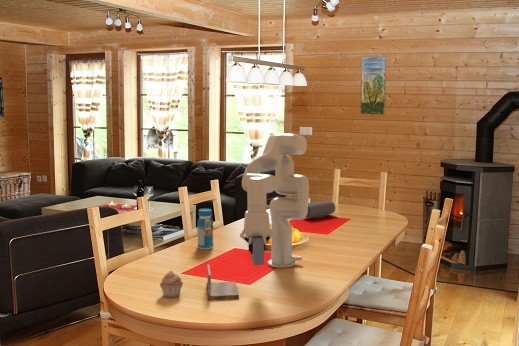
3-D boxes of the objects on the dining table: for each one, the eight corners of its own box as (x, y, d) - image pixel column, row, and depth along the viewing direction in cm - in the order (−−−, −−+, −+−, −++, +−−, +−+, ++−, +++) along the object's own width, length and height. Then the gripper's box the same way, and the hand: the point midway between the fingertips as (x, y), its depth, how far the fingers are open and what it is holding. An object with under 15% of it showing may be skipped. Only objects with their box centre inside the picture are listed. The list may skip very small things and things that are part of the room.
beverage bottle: (194, 249, 297) (194, 210, 294) (200, 244, 305) (200, 207, 302) (210, 250, 295) (210, 211, 292) (215, 246, 303) (215, 208, 300)
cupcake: (188, 294, 229) (188, 270, 228) (170, 301, 222) (169, 276, 221) (173, 289, 236) (172, 265, 234) (154, 295, 229) (154, 271, 227)
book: (260, 256, 239) (260, 232, 238) (264, 264, 227) (264, 240, 226) (250, 256, 239) (250, 232, 237) (253, 265, 227) (253, 240, 225)
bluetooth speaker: (325, 213, 385) (325, 199, 384) (335, 216, 378) (336, 201, 377) (300, 218, 370) (301, 203, 369) (311, 220, 363) (311, 205, 362)
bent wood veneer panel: (235, 285, 241) (235, 263, 240) (238, 298, 225) (238, 274, 224) (206, 286, 240) (206, 264, 238) (207, 299, 224) (207, 276, 223)
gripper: (276, 205, 234) (276, 249, 237) (235, 206, 232) (235, 251, 235) (279, 209, 227) (279, 254, 230) (236, 210, 225) (237, 256, 228)
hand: (257, 252), depth 232 cm, fingers closed on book, 4 cm apart
